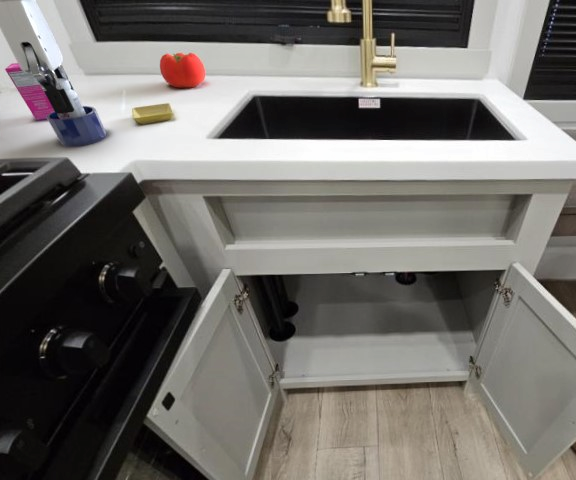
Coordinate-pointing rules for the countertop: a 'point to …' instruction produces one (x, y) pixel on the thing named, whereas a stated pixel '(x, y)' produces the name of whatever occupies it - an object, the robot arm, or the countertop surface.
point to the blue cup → (78, 128)
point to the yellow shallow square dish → (152, 113)
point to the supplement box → (30, 91)
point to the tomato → (182, 70)
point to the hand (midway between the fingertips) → (67, 107)
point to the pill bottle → (73, 99)
